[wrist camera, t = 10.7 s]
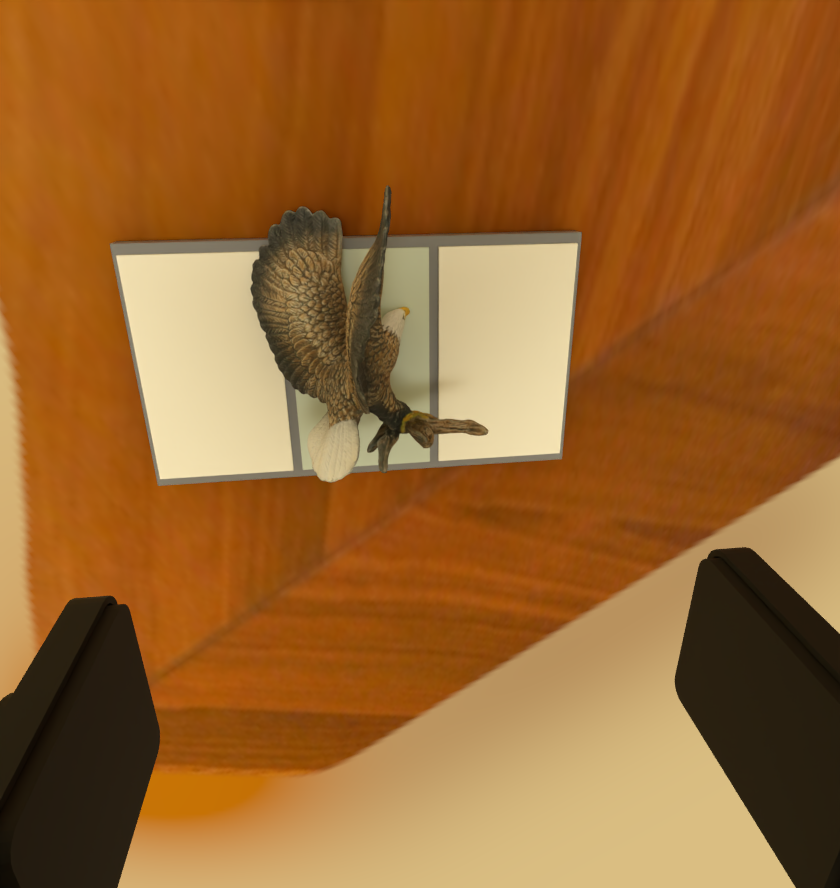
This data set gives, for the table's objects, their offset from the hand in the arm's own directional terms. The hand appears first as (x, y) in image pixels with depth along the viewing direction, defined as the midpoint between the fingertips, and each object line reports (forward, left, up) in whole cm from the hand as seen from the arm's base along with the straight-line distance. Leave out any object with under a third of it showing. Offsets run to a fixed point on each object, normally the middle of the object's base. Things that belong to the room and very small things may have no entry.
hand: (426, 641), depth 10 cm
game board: (0, 0, -18) cm, 18 cm away
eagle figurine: (0, -1, -17) cm, 17 cm away
